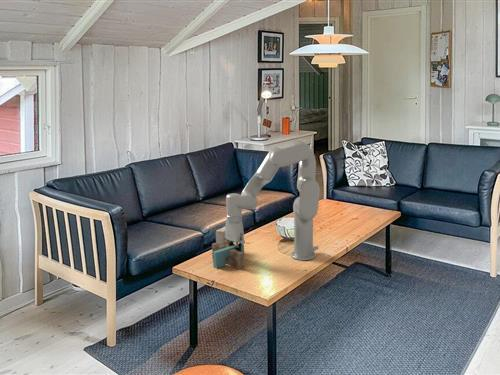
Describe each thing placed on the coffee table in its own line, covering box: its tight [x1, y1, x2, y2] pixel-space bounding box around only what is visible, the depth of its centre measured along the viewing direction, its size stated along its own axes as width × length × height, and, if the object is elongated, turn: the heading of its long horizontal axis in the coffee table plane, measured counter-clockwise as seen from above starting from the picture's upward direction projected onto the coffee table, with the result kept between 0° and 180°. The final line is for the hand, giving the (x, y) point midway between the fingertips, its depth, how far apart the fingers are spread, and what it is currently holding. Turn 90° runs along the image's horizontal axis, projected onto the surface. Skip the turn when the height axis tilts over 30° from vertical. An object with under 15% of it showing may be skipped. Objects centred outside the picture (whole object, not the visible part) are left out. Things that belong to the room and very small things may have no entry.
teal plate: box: [212, 243, 245, 269], centre depth 252 cm, size 18×2×8 cm, turn 131°
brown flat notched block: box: [211, 242, 245, 271], centre depth 252 cm, size 22×2×8 cm, turn 42°
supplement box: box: [215, 226, 229, 248], centre depth 267 cm, size 8×5×13 cm, turn 148°
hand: (235, 252), depth 255 cm, fingers open, 4 cm apart
